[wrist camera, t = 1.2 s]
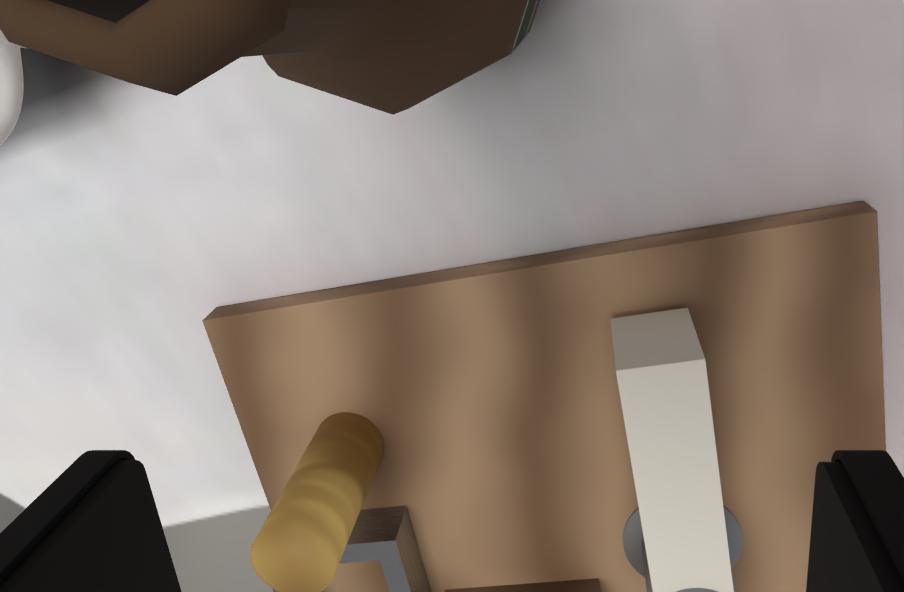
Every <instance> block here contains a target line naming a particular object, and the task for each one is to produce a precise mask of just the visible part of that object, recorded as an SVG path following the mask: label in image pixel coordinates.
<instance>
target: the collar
mask: <svg viewBox="0 0 904 592" xmlns="http://www.w3.org/2000/svg"><path fill="white" fill-rule="evenodd" d="M378 560H380V563H381V566H382V569H383V573H384V576H385V579H386V582H387V585H388V589H389V592H432V591H431V588H430V584H429V581H428V577H427V574H426V570H425V567H424V564H423V560H422V557H421V553H420V550H419V546H418V543H417V539H416V536H415V532H414V529H413V526H412V522H411V519H410V515H409V512H408V508H407V505H404V506H394V507H384V508H374V509H364V510H360V513H359V515H358V517H357V520H356V522H355V525H354V527H353V530H352V532H351V535H350V537H349V540H348V542H347V545H346V547H345V550H344V552H343V555H342V557H341V560H340V562H339V564H342V563H354V562H366V561H378ZM273 591H274V592H278V591H277V590H275V589H273ZM321 592H323V591H321Z"/></svg>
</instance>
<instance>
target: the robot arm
mask: <svg viewBox="0 0 904 592" xmlns="http://www.w3.org/2000/svg"><path fill="white" fill-rule="evenodd" d="M0 592H181V589H180V585H179V582H178V579H177V576H176V572H175V569H174V565H173V562H172V558H171V555H170V552H169V548H168V545H167V542H166V538H165V535H164V531H163V528H162V525H161V521H160V518H159V515H158V511H157V508H156V504H155V501H154V498H153V494H152V491H151V488H150V484H149V481H148V478H147V474H146V471H145V468H144V466H143V464H142V463H141V462H140V461H137V460H135V459H134V456H133V455H132V454H131V453H130V452H128V451H125V450H92V451H87V452H85V453H84V454H82V455H81V456H80V457H79V458H78V459H77V460H76V461H75V462H74V463H73V464H72V465H71V466H70V467H69V468H67V469H66V470H65V471H64V472H63V473H62V474H61V475H60V476H59V477H58V478H57V479H56V480H55V481H54V482H53V483H52V484H51V485H50V486H49V487H48V488H47V489H46V490H45V491H44V492H43V493H42V494H41V495H40V496H38V497H37V498H36V499H35V500H34V501H33V502H32V503H31V504H30V505H29V506H28V507H27V508H26V509H25V510H24V511H23V512H22V513H21V514H20V515H19V516H18V517H17V518H16V519H15V520H14V521H13V522H12V523H11V524H10V525H8V526H7V527H6V528H5V529H4V530H3V531H2V532H1V533H0ZM806 592H904V477H903V476H902V474H901V473H900V471H899V469H898V468H897V466H896V465H895V463H894V461H893V460H892V458H891V456H890V455H889V454H888V453H887V452H886V451H884V450H836V451H835V452H834V453H833V456H832V459H831V462H819V463H818V464H817V467H816V474H815V486H814V499H813V511H812V523H811V536H810V548H809V561H808V573H807V585H806Z"/></svg>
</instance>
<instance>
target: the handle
mask: <svg viewBox="0 0 904 592" xmlns="http://www.w3.org/2000/svg"><path fill="white" fill-rule="evenodd" d="M610 320H611V329H612V339H613V349H614V358H615V368H616V375H617V381H618V387H619V393H620V399H621V405H622V411H623V417H624V423H625V429H626V435H627V441H628V447H629V453H630V459H631V465H632V471H633V477H634V483H635V489H636V495H637V501H638V507H639V513H640V518H641V524H642V530H643V536H644V537H643V540H642V555H643V564H644V572H645V581H646V589H647V592H738V590H737V586H736V582H735V579H734V575H733V571H732V567H731V563H730V557H729V549H728V541H727V533H726V524H725V516H724V508H723V500H722V492H721V484H720V475H719V467H718V459H717V451H716V443H715V435H714V427H713V418H712V410H711V402H710V394H709V386H708V378H707V370H706V361H705V357H704V354H703V351H702V348H701V345H700V342H699V339H698V336H697V333H696V330H695V328H694V325H693V322H692V319H691V316H690V313H689V310H688V308H681V309H674V310H667V311H660V312H653V313H646V314H639V315H632V316H625V317H618V318H611V319H610Z"/></svg>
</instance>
